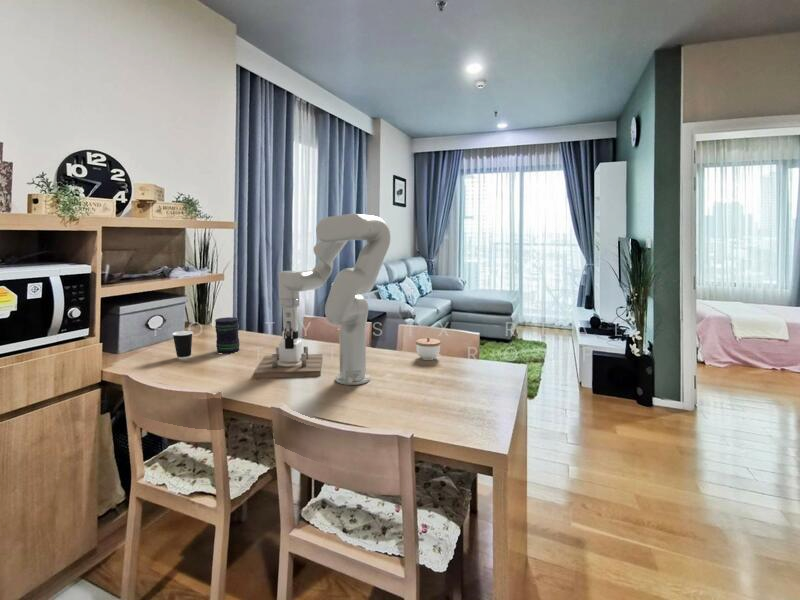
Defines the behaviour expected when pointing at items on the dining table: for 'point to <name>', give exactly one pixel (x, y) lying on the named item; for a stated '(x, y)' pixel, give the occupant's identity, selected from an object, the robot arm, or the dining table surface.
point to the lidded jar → (428, 348)
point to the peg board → (289, 366)
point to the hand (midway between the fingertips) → (290, 345)
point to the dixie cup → (183, 343)
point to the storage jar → (227, 335)
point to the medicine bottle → (290, 354)
